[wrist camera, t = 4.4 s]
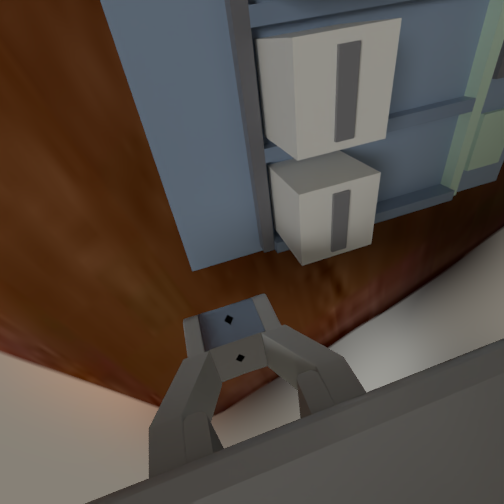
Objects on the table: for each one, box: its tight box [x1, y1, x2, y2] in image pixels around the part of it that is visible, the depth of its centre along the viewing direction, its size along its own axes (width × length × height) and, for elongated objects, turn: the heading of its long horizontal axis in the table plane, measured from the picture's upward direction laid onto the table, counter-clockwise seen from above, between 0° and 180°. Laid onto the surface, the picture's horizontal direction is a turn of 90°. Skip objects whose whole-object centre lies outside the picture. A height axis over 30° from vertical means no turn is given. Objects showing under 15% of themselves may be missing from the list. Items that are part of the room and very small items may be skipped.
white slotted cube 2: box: [254, 18, 402, 161], centre depth 12 cm, size 4×4×4 cm
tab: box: [267, 150, 381, 266], centre depth 16 cm, size 4×4×4 cm
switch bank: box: [100, 0, 504, 271], centre depth 15 cm, size 23×18×2 cm
